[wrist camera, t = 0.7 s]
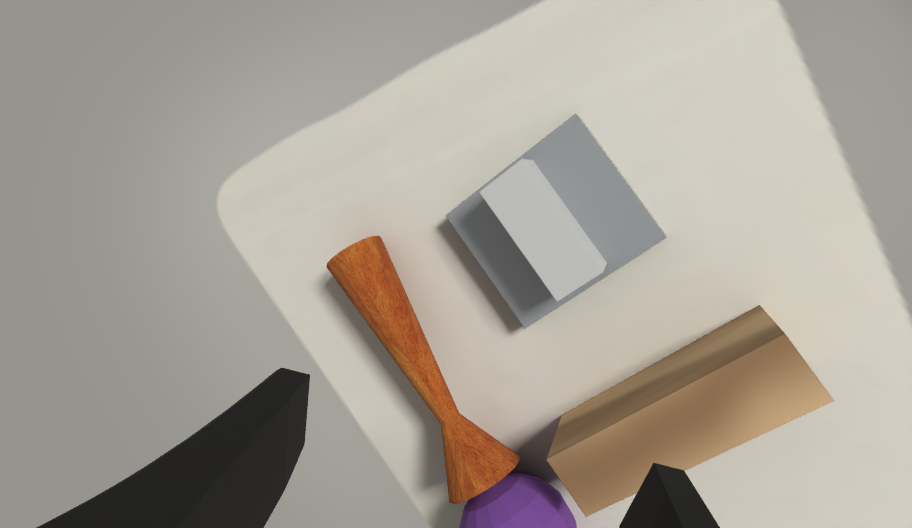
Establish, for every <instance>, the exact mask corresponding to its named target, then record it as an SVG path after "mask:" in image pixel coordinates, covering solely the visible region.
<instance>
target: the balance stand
mask: <svg viewBox="0 0 912 528" xmlns="http://www.w3.org/2000/svg"><path fill="white" fill-rule="evenodd" d="M445 216H446V217H447V218H448V220H449V221H450V223H451V224H452V226H453V227H454V228H455V230H456V231H457V233H458V234H459V235H460V237H461V238H462V240H463V241H464V243H465V244H466V245H467V247H468V248H469V250H470V251H471V253H472V254H473V255H474V257H475V258H476V260H477V261H478V263H479V264H480V265H481V267H482V268H483V270H484V271H485V273H486V274H487V275H488V277H489V278H490V280H491V281H492V283H493V284H494V285H495V287H496V288H497V290H498V291H499V292H500V294H501V295H502V297H503V298H504V300H505V301H506V302H507V304H508V305H509V307H510V308H511V310H512V311H513V312H514V314H515V315H516V317H517V318H518V320H519V321H520V322H521V324H522V325H523V327H524V328H526V327H528V326H529V325H531V324H533V323H534V322H536V321H537V320H539V319H540V318H542V317H544V316H545V315H547V314H548V313H550V312H551V311H553V310H554V309H556V308H558V307H559V306H561V305H562V304H564V303H565V302H567V301H568V300H570V299H572V298H573V297H575V296H576V295H578V294H579V293H581V292H583V291H584V290H586V289H587V288H589V287H590V286H592V285H593V284H595V283H597V282H598V281H600V280H601V279H603V278H604V277H606V276H607V275H609V274H611V273H612V272H614V271H615V270H617V269H618V268H620V267H621V266H623V265H625V264H626V263H628V262H629V261H631V260H632V259H634V258H636V257H637V256H639V255H640V254H642V253H643V252H645V251H646V250H648V249H650V248H651V247H653V246H654V245H656V244H657V243H659V242H660V241H662V240H664V239H665V238H666V235H665V234H664V232H663V231H662V230H661V228H660V227H659V226H658V224H657V223H656V221H655V220H654V219H653V217H652V216H651V215H650V213H649V212H648V211H647V209H646V208H645V206H644V205H643V204H642V202H641V201H640V200H639V198H638V197H637V195H636V194H635V193H634V191H633V190H632V189H631V187H630V186H629V185H628V183H627V182H626V180H625V179H624V178H623V176H622V175H621V174H620V172H619V171H618V169H617V168H616V167H615V165H614V164H613V163H612V161H611V160H610V159H609V157H608V156H607V154H606V153H605V152H604V150H603V149H602V148H601V146H600V145H599V143H598V142H597V141H596V139H595V138H594V137H593V135H592V134H591V133H590V131H589V130H588V128H587V127H586V126H585V124H584V123H583V122H582V120H581V119H580V117H579V116H578V115H577V114H574V115H573V116H572V117H571V118H569V119H568V120H567V121H565V122H564V123H563V124H562V125H560V126H559V127H558V128H557V129H555V130H554V131H553V132H551V133H550V134H549V135H548V136H546V137H545V138H544V139H542V140H541V141H540V142H539V143H537V144H536V145H535V146H534V147H532V148H531V149H530V150H528V151H527V152H526V153H525V154H523V155H522V156H521V157H519V158H518V159H517V160H516V161H514V162H513V163H512V164H511V165H509V166H508V167H507V168H505V169H504V170H503V171H502V172H500V173H499V174H498V175H496V176H495V177H494V178H493V179H491V180H490V181H489V182H488V183H486V184H485V185H484V186H482V187H481V188H480V189H479V190H477V191H476V192H475V193H474V194H472V195H471V196H470V197H468V198H467V199H466V200H465V201H463V202H462V203H461V204H459V205H458V206H457V207H456V208H454V209H453V210H452V211H451V212H449V213H448V214H447V215H445Z"/></svg>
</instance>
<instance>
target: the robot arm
mask: <svg viewBox="0 0 912 528" xmlns="http://www.w3.org/2000/svg"><path fill="white" fill-rule="evenodd" d="M309 380H310V375H309V374H305V373H300V372H297V371H293V370H289V369H285V368H280V369H278V370H277V371H275V372H274V373H273V374H272V375H270V376H269V377H268V378H267V379H265V380H264V381H263V382H262V383H260V384H259V385H258V386H257V387H256V388H254V389H253V390H252V391H251V392H249V393H248V394H247V395H245V396H244V397H243V398H242V399H240V400H239V401H238V402H237V403H235V404H234V405H233V406H231V407H230V408H229V409H227V410H226V411H225V412H223V413H222V414H221V415H219V416H218V417H217V418H215V419H214V420H212V421H211V422H210V423H208V424H207V425H206V426H204V427H203V428H202V429H200V430H199V431H198V432H196V433H195V434H193V435H192V436H191V437H189V438H188V439H186V440H185V441H183V442H182V443H180V444H179V445H177V446H176V447H174V448H173V449H171V450H170V451H168V452H167V453H165V454H164V455H162V456H161V457H159V458H158V459H156V460H155V461H153V462H152V463H150V464H149V465H147V466H146V467H144V468H142V469H141V470H139V471H137V472H136V473H134V474H133V475H131V476H129V477H128V478H126V479H124V480H123V481H121V482H119V483H118V484H116V485H114V486H113V487H111V488H109V489H107V490H106V491H104V492H102V493H101V494H99V495H97V496H95V497H94V498H92V499H90V500H88V501H86V502H84V503H83V504H81V505H79V506H77V507H75V508H73V509H71V510H69V511H68V512H66V513H64V514H62V515H60V516H58V517H56V518H55V519H52V520H50V521H48V522H47V523H45V524H43V525H41V526H39V527H37V528H264V526H265V524H266V522H267V520H268V519H269V517H270V515H271V513H272V512H273V510H274V508H275V506H276V505H277V503H278V501H279V499H280V497H281V496H282V494H283V492H284V490H285V488H286V486H287V484H288V481H289V479H290V476H291V474H292V472H293V470H294V468H295V465H296V463H297V461H298V458H299V456H300V453H301V451H302V449H303V446H304V443H305V431H306V418H307V406H308V392H309ZM619 528H720V527H719V526H718V524H717V522H716V521H715V519H714V518H713V516H712V514H711V513H710V511H709V510H708V508H707V506H706V505H705V503H704V502H703V500H702V498H701V497H700V495H699V494H698V492H697V490H696V489H695V487H694V486H693V484H692V483H691V481H690V479H689V478H688V476H687V475H686V473H685V472H684V470H681V469H677V468H673V467H669V466H665V465H661V464H657V463H653V464H652V466H651V468H650V470H649V472H648V474H647V476H646V477H645V479H644V481H643V483H642V485H641V487H640V489H639V491H638V492H637V494H636V496H635V498H634V500H633V502H632V504H631V505H630V507H629V509H628V511H627V513H626V515H625V517H624V519H623V520H622V522H621V524H620V526H619Z"/></svg>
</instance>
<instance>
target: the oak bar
mask: <svg viewBox="0 0 912 528" xmlns="http://www.w3.org/2000/svg"><path fill="white" fill-rule="evenodd" d="M833 401H834V400H833V398H832V397H831V395H830V394H829V393H828V391H827V390H826V389H825V387H824V386H823V385H822V383H821V382H820V381H819V379H818V378H817V377H816V375H815V374H814V372H813V371H812V370H811V368H810V367H809V366H808V364H807V363H806V362H805V360H804V359H803V358H802V356H801V355H800V353H799V352H798V351H797V349H796V348H795V347H794V345H793V344H792V343H791V341H790V340H789V339H788V337H787V336H786V334H785V333H784V332H783V331H782V330H781V329H780V328H779V326H778V325H777V324H776V323H775V322H774V321H773V320H772V319H771V317H770V316H769V315H768V314H767V313H766V312H765V311H764V310H763V308H762V307H761V306H760V305H759V306H757V307H755V308H754V309H752V310H750V311H748V312H746V313H745V314H743V315H741V316H739V317H737V318H736V319H734V320H732V321H730V322H728V323H727V324H725V325H723V326H721V327H719V328H718V329H716V330H714V331H712V332H710V333H709V334H707V335H705V336H703V337H701V338H700V339H698V340H696V341H694V342H692V343H691V344H689V345H687V346H685V347H683V348H682V349H680V350H678V351H676V352H674V353H673V354H671V355H669V356H667V357H665V358H664V359H662V360H660V361H658V362H656V363H655V364H653V365H651V366H649V367H647V368H645V369H644V370H642V371H640V372H638V373H636V374H635V375H633V376H631V377H629V378H627V379H626V380H624V381H622V382H620V383H618V384H617V385H615V386H613V387H611V388H609V389H608V390H606V391H604V392H602V393H600V394H599V395H597V396H595V397H593V398H591V399H590V400H588V401H586V402H584V403H582V404H581V405H579V406H577V407H575V408H573V409H572V410H570V411H568V412H566V413H564V414H563V415H562V416H561V419H560V422H559V424H558V427H557V430H556V433H555V436H554V439H553V442H552V445H551V448H550V451H549V453H548V456H547V459H546V460H547V461H548V463H549V464H550V466H551V467H552V469H553V470H554V471H555V473H556V474H557V476H558V477H559V479H560V480H561V482H562V483H563V484H564V486H565V487H566V489H567V490H568V492H569V493H570V495H571V496H572V497H573V499H574V500H575V502H576V503H577V505H578V506H579V508H580V509H581V510H582V512H583V513H584V515H585V516H589V515H591V514H593V513H595V512H597V511H599V510H601V509H604V508H606V507H608V506H610V505H612V504H614V503H616V502H619V501H621V500H623V499H625V498H627V497H629V496H631V495H634V494H636V493H637V492H638V491H639V489H640V487H641V485H642V483H643V481H644V479H645V477H646V476H647V474H648V472H649V470H650V468H651V466H652V464H653V463H657V464H661V465H665V466H669V467H673V468H677V469H681V470H684V471H685V470H687V469H689V468H691V467H694V466H696V465H698V464H700V463H702V462H704V461H706V460H709V459H711V458H713V457H715V456H717V455H719V454H721V453H724V452H726V451H728V450H730V449H732V448H734V447H736V446H739V445H741V444H743V443H745V442H747V441H749V440H751V439H754V438H756V437H758V436H760V435H762V434H764V433H766V432H769V431H771V430H773V429H775V428H777V427H779V426H781V425H784V424H786V423H788V422H790V421H792V420H794V419H796V418H799V417H801V416H803V415H805V414H807V413H809V412H811V411H814V410H816V409H818V408H820V407H822V406H824V405H826V404H829V403H831V402H833Z"/></svg>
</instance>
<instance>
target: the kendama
mask: <svg viewBox="0 0 912 528" xmlns="http://www.w3.org/2000/svg"><path fill="white" fill-rule="evenodd" d="M327 268H328V270H329V271H330V272H331V274H332V275H333V276H334V278H335V279H336V280H337V282H338V283H339V285H340V286H341V287H342V289H343V290H344V291H345V293H346V294H347V296H348V297H349V298H350V300H351V301H352V302H353V304H354V305H355V307H356V308H357V309H358V311H359V312H360V313H361V315H362V316H363V318H364V319H365V320H366V322H367V323H368V324H369V326H370V327H371V329H372V330H373V331H374V333H375V334H376V335H377V337H378V338H379V340H380V341H381V342H382V344H383V345H384V346H385V348H386V349H387V351H388V352H389V353H390V355H391V356H392V357H393V359H394V360H395V361H396V363H397V364H398V366H399V367H400V368H401V370H402V371H403V372H404V374H405V375H406V377H407V378H408V379H409V381H410V382H411V383H412V385H413V386H414V388H415V389H416V390H417V392H418V393H419V394H420V396H421V397H422V399H423V400H424V401H425V403H426V404H427V405H428V407H429V408H430V410H431V411H432V412H433V414H434V415H435V416H436V418H437V419H438V421H439V422H440V423H441V427H442V436H443V445H444V454H445V464H446V473H447V482H448V492H449V501H450V503H453V504H456V503H460V502H464V501H466V500H469V501H468V502H467V504H466V505H465V507H464V511H463V515H462V519H461V524H460V528H577V527H576V521H575V519H574V517H573V515H572V513H571V511H570V509H569V508H568V506H567V504H566V503H565V501H564V499H563V498H562V496H561V494H560V492H558V491H557V490H556V489H554V488H553V487H552V486H551V485H549V484H548V483H547V482H545V481H544V480H543V479H541V478H538V477H534V476H530V475H526V474H522V473H516V472H514V473H510V472H511V471H512V470H513V469H514V468H515V467H516V465H517V464H518V462H519V460H520V458H519V456H518V455H517V454H516V453H514V452H513V451H511V450H510V449H509V448H507V447H506V446H504V445H503V444H502V443H500V442H499V441H497V440H496V439H495V438H493V437H492V436H490V435H489V434H488V433H486V432H485V431H483V430H482V429H481V428H479V427H478V426H476V425H475V424H474V423H472V422H471V421H469V420H468V419H467V418H465V417H464V416H462V415H461V414H460V413H459V412H458V410H457V407H456V405H455V403H454V401H453V398H452V396H451V394H450V392H449V389H448V387H447V385H446V383H445V380H444V378H443V376H442V374H441V371H440V369H439V367H438V365H437V362H436V360H435V358H434V356H433V353H432V351H431V349H430V347H429V344H428V342H427V340H426V338H425V335H424V333H423V331H422V329H421V326H420V324H419V322H418V320H417V317H416V315H415V313H414V311H413V308H412V306H411V304H410V302H409V299H408V297H407V295H406V293H405V290H404V288H403V286H402V284H401V281H400V279H399V277H398V275H397V272H396V270H395V268H394V266H393V263H392V261H391V259H390V257H389V254H388V252H387V250H386V248H385V245H384V243H383V241H382V239H381V237H380V236H372V237H369V238H366V239H363V240H361V241H359V242H357V243H354V244H352V245H351V246H349V247H347V248H346V249H344V250H342V251H341V252H339V253H338V254H337V255H335V256H334V257H333V258H332V259H331V260H330V261H329V262H328V263H327ZM509 473H510V474H509Z"/></svg>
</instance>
